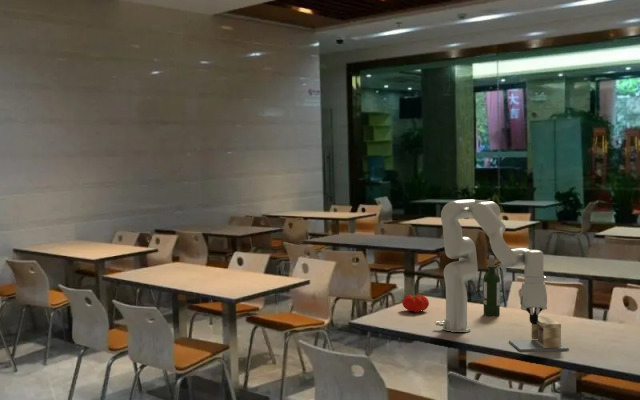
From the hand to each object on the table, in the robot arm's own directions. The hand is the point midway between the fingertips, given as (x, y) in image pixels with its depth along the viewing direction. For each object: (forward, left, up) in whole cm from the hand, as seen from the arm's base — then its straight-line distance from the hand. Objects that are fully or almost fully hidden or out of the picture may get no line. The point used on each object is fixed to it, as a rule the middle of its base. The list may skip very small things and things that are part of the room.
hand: (533, 323), depth 278 cm
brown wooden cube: (+6, 0, -8) cm, 10 cm away
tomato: (-37, +69, -10) cm, 79 cm away
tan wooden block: (+5, 0, -8) cm, 10 cm away
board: (+2, 0, -10) cm, 10 cm away
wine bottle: (0, +59, -10) cm, 60 cm away
